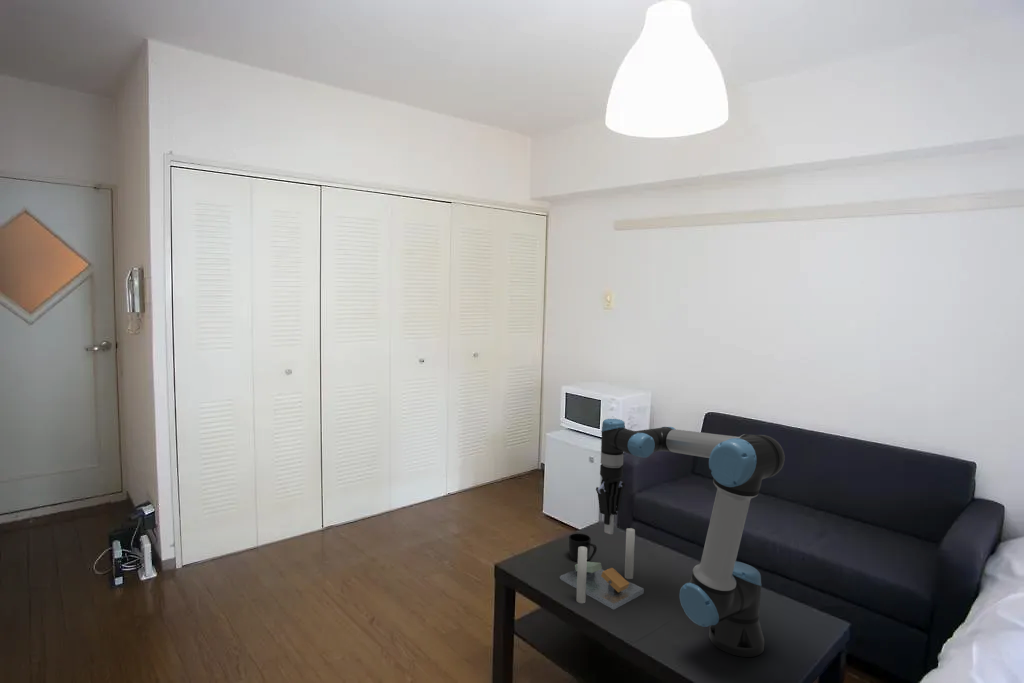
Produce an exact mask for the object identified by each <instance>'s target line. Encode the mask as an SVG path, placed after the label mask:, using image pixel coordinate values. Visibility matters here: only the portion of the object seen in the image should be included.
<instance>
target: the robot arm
mask: <svg viewBox="0 0 1024 683" xmlns="http://www.w3.org/2000/svg"><path fill="white" fill-rule="evenodd" d="M625 425H626V423H625V421H624V420H623V419H619V418H606V419H603V421H602V426H601V432H600V433H601V439H600V440H601V443H600V452H601V453H600V463H601V465H600V466H599V468H600V469H599V475H600V477H601V482H600V484H601V485H600V486H599V487H598V486H596V488H595V491H596V493H597V500H598V506H599V513H600V514H602V515H603V517H604V519H603V523H604V530H603V531H604V533H606V534H608V535H613V534H614V529H615V528H614V527H615V526H614V523H615V515H616V516H617V515H618V514H619V511H620V507H621V503H622V497H623V492H624V489H625V487H626V483H625V482H624V481H621V478H623V474H624V473H623V472H624V471H623V470H624V467H623V465H624V453H626V454H629V455H632V456H634V457H637V458H638V457H639V458H644V459H645V458H649V457H650V456H651V455H653V453H655V452H656V453H657V452H669V453H676V454H683V455H688V456H692V457H693V456H695V457H700V458H707V459H708V468H709V470H710V471H711V472H710V473H711V476H712V477H713V479H712V482H713V485H714V486H715V488H716V494H715V498H714V503H713V507H712V512H711V515H710V520H709V524H708V529H707V532H706V537H705V543H704V547H703V549H702V555H701V558H700V563H699V564H696V565H695V566H694V567H693V568H692V571H691V572H692V573H691V578H690V581H689V582H686V583H684V584H683V585H682V586H681V587H680V590H679V595H678V596H679V602H680V604H681V607H682V609H683V611H684V613H685V615H686V616H687V617H688V619H689V620H690V621H692V623H694V624H695V625H697V626H699V627H703V628H704V627H705V628H706V627H707V628H708V627H709V634H708V636H709V640H710V642H711V643H712V644H713V645H714V646H715V647H716V648H718V649H719V650H721V651H723V652H725V653H727V654H730V655H733V656H737V657H743V658H752V657H757V656H760V655H761V654H763V652H764V651H765V637H764V634H763V631H762V630H763V629H762V627H761V623H760V610H761V609H760V607H761V595H762V593H761V591H762V589H761V588H762V586H763V585H762V575H761V573H760V571H759V570H758V569H757V568H755V567H754V566H752V565H749V564H747V563H744V562H741V561H737V558H738V552H739V550H740V545H741V541H742V535H743V533H744V532H743V531H744V528H745V524H746V520H747V517H748V512H749V508H750V502H751V500H752V499H754V498H756V497H758V495H759V493H760V490H761V487H762V480H764V479H768V478H772V477H774V476H776V475H778V473H780V471H781V470H782V469H783V467H784V465H785V461H786V460H785V458H786V456H785V451H784V449H783V447H782V446H781V444H780V443H779V441H778V440H776V439H775V438H773V437H771V436H769V435H766V434H749V433H744V434H742V435H740V436H734V435H726V434H717V433H710V432H700V431H692V430H685V429H676V428H675V427H672V426H661V427H658V428H657V427H655V428H649V429H642V430H632V429H628V428H626V426H625Z"/></svg>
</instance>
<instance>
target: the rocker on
mask: <svg viewBox="0 0 1024 683" xmlns="http://www.w3.org/2000/svg"><path fill="white" fill-rule="evenodd" d="M577 567H578V563H576V564H574V568H575V569H574V570H576V571H577ZM600 569H603V566H602V563H601V562H596V561H590V562H587V572H590V573H593V572H596V571H598V570H600Z"/></svg>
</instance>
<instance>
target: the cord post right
mask: <svg viewBox="0 0 1024 683" xmlns="http://www.w3.org/2000/svg"><path fill="white" fill-rule="evenodd" d="M625 531H626V532H625V533H626V534H625V555H624V556H625V557H624V579H625V580H633V579H634V568H635V567H634V565H635V562H634V561H635V537H636V529H634V528H632V527H630V528H628V527H627V528H626V529H625Z"/></svg>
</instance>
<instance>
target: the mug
mask: <svg viewBox="0 0 1024 683" xmlns="http://www.w3.org/2000/svg"><path fill="white" fill-rule="evenodd" d="M580 546H584V547H587V562H592V559H593V558H594V556H595V555H596V553H597V550H598V548H597V547H598V546H597V545H596V544H594V543H591V537H590V536H589V535H587V534H585V533H572V534H570V535H569V536H568V550H569V556H570V558H571V560H572V561H573V562H576V563H578V547H580ZM591 547H592V548H593V549H592V550H593V552H592V554H591V555H590V553H591V552H590V550H591ZM589 555H590V556H589Z"/></svg>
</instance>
